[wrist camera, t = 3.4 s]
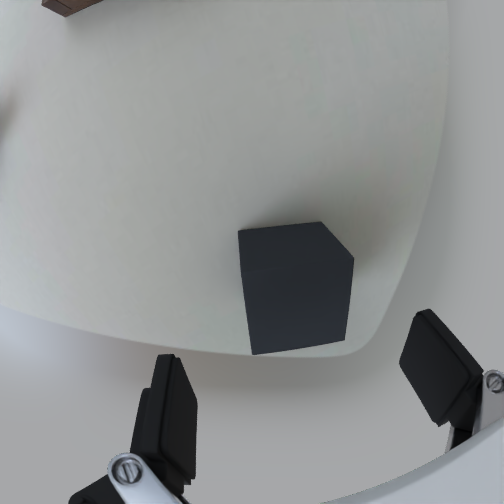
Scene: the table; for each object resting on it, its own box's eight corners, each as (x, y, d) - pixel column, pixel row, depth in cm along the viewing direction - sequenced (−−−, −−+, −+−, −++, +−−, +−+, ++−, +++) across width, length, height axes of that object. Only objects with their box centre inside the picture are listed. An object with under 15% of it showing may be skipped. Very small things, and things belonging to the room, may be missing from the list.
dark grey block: (321, 221, 16) (354, 257, 11) (320, 291, 18) (344, 340, 14) (237, 230, 16) (240, 271, 11) (246, 301, 18) (252, 355, 13)
